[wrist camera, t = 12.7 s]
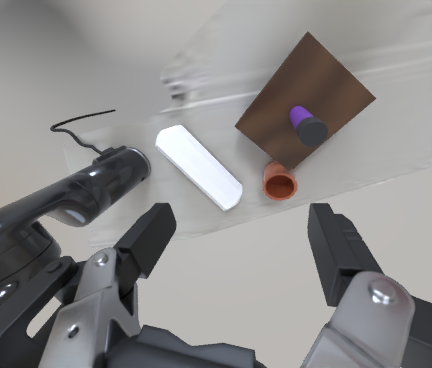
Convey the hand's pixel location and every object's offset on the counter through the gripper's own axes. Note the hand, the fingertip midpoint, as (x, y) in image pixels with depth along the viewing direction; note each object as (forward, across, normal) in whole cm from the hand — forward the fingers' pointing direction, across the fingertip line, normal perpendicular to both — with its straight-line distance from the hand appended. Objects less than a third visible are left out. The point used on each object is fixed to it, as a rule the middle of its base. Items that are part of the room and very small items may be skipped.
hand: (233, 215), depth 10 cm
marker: (+21, -6, -1) cm, 22 cm away
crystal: (+30, +13, +9) cm, 33 cm away
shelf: (+29, -6, -2) cm, 30 cm away
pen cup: (+29, -4, +12) cm, 32 cm away
